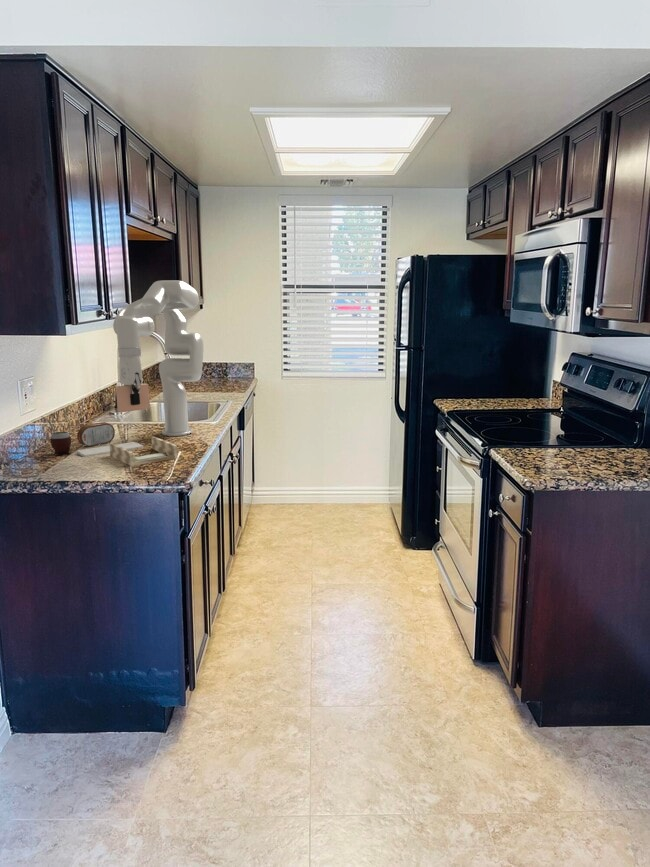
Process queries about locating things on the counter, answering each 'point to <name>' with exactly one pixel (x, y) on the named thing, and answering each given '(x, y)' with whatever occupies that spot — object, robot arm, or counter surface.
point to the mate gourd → (60, 441)
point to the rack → (157, 445)
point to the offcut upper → (148, 457)
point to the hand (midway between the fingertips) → (133, 403)
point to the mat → (107, 449)
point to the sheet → (125, 400)
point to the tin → (95, 434)
